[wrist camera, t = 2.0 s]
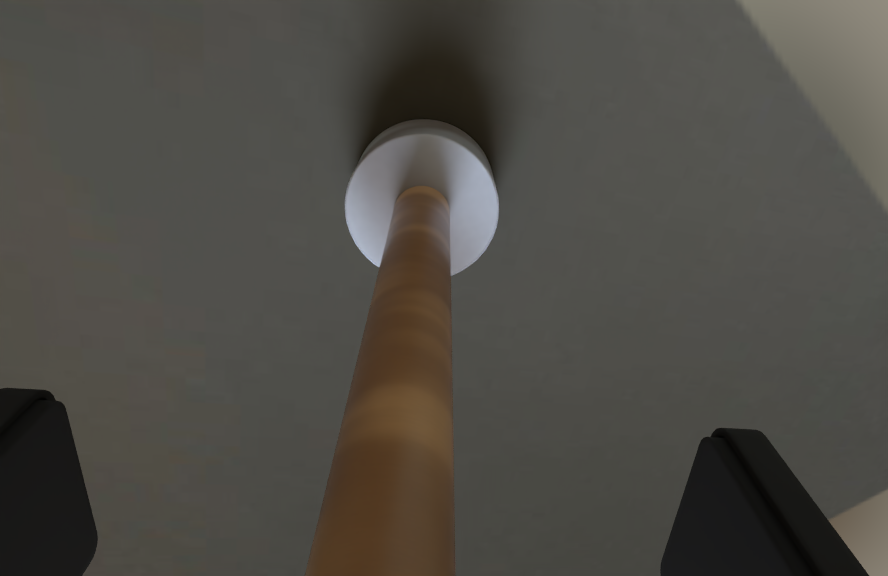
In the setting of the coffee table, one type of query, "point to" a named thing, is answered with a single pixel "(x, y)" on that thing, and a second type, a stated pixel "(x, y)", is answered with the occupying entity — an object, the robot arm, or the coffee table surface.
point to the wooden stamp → (405, 354)
